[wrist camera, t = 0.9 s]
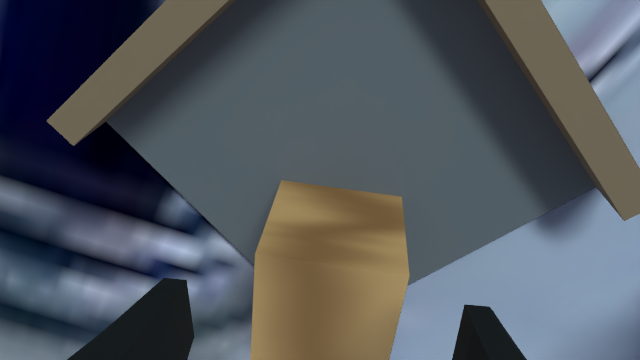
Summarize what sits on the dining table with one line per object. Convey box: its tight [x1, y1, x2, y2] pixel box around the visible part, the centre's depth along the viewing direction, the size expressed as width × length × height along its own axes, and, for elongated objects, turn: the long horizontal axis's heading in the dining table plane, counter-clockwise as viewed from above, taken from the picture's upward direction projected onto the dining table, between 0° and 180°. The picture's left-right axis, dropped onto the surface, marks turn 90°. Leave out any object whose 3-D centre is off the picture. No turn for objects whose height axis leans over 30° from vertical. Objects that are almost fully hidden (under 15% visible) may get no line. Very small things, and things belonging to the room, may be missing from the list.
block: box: [250, 180, 410, 360], centre depth 19 cm, size 5×5×5 cm
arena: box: [47, 0, 640, 286], centre depth 18 cm, size 15×15×3 cm
